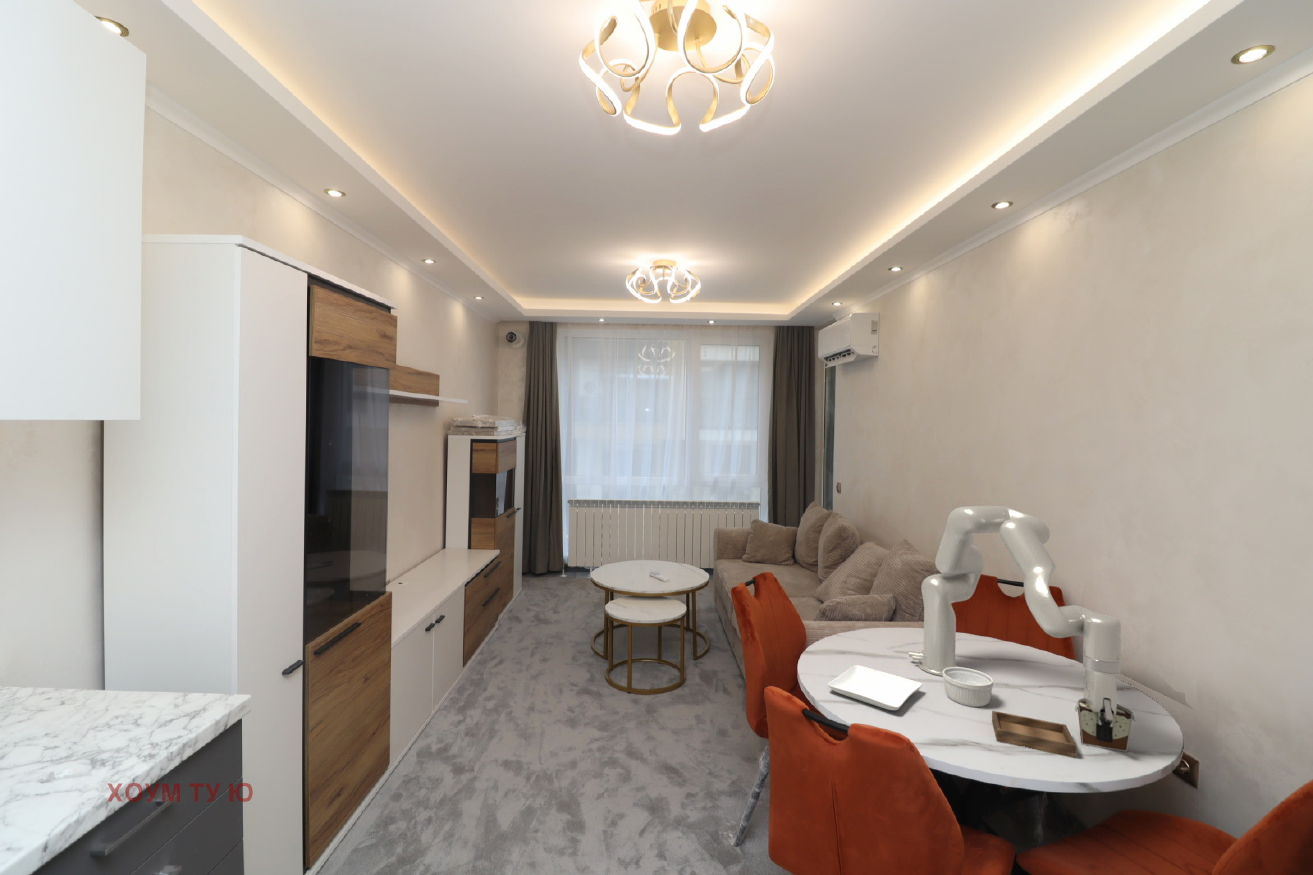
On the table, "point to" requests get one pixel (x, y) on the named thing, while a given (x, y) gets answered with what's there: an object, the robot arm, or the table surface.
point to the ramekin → (967, 686)
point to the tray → (1033, 734)
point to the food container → (1119, 723)
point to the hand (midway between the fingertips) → (1100, 734)
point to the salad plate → (874, 687)
